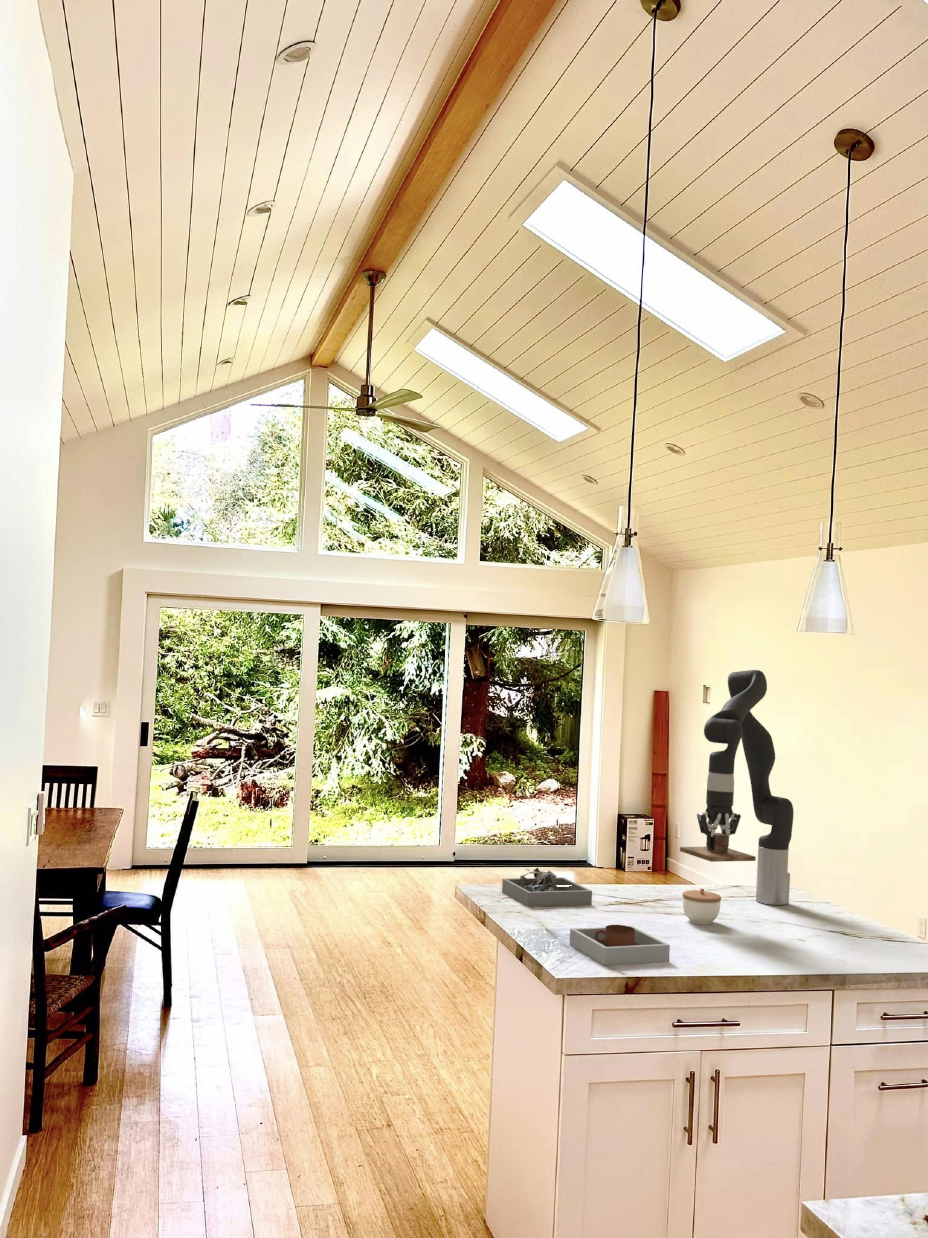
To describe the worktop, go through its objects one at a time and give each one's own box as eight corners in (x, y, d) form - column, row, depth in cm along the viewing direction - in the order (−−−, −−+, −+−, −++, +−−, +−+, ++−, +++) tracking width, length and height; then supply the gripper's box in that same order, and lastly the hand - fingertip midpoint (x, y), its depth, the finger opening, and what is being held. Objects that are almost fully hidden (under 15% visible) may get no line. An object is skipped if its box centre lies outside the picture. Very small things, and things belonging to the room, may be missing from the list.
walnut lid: (722, 850, 306) (724, 829, 306) (755, 861, 292) (756, 838, 293) (679, 851, 301) (681, 829, 301) (710, 861, 287) (712, 839, 287)
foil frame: (562, 890, 329) (563, 877, 329) (591, 904, 311) (592, 891, 311) (501, 891, 321) (502, 878, 321) (527, 906, 303) (528, 892, 304)
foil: (503, 884, 318) (539, 855, 325) (518, 913, 320) (553, 884, 327) (524, 890, 308) (560, 860, 314) (540, 920, 310) (575, 890, 316)
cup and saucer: (604, 960, 252) (605, 934, 253) (588, 946, 264) (589, 922, 265) (650, 960, 255) (652, 935, 255) (633, 947, 267) (634, 922, 267)
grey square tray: (631, 941, 271) (632, 926, 271) (669, 961, 254) (669, 945, 254) (569, 944, 264) (570, 928, 264) (603, 965, 248) (604, 948, 248)
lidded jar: (673, 920, 298) (675, 886, 298) (696, 915, 305) (698, 883, 305) (704, 928, 290) (706, 894, 290) (727, 924, 297) (729, 890, 297)
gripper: (732, 787, 303) (729, 846, 303) (691, 786, 298) (688, 847, 297) (749, 791, 297) (746, 851, 296) (707, 790, 291) (704, 852, 290)
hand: (717, 849), depth 297 cm, fingers closed on walnut lid, 4 cm apart
